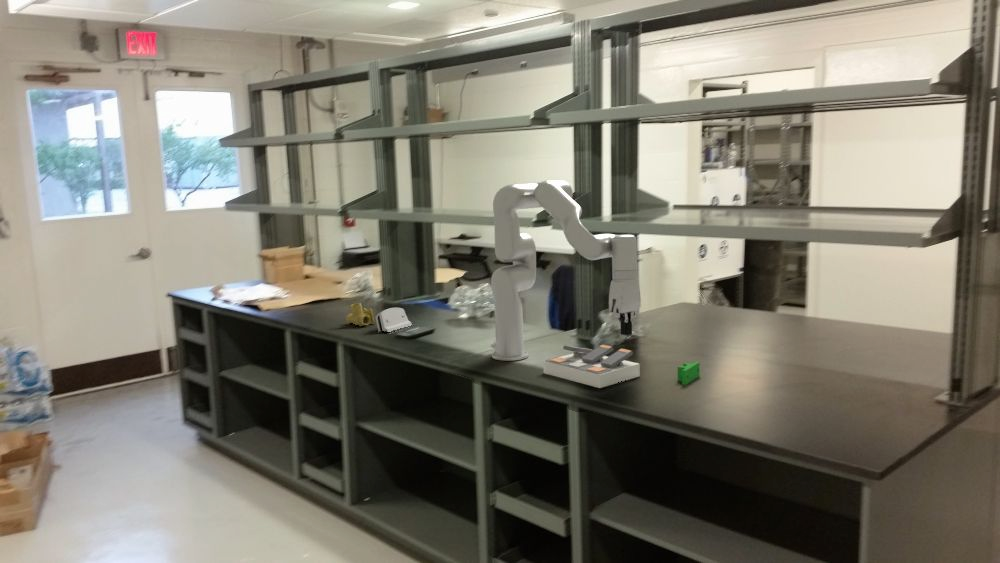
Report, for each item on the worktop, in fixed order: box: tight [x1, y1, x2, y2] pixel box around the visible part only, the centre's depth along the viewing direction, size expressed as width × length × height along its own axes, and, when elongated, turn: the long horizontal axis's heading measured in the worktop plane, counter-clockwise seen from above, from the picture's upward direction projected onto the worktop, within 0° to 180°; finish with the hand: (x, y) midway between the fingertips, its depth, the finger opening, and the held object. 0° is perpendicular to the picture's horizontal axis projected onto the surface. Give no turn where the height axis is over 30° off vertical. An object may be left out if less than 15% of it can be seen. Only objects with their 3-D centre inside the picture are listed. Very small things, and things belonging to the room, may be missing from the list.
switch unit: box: [543, 351, 641, 389], centre depth 238 cm, size 24×18×5 cm
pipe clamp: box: [677, 361, 701, 386], centre depth 229 cm, size 11×4×5 cm, turn 145°
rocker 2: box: [581, 344, 614, 364], centre depth 239 cm, size 4×10×1 cm, turn 130°
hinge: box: [375, 307, 413, 332], centre depth 317 cm, size 17×5×10 cm, turn 149°
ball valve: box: [345, 302, 376, 326], centre depth 328 cm, size 13×10×10 cm
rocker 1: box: [563, 345, 594, 353], centre depth 245 cm, size 4×10×1 cm, turn 130°
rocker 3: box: [600, 348, 634, 368], centre depth 233 cm, size 4×10×1 cm, turn 130°
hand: (626, 334), depth 234 cm, fingers closed
